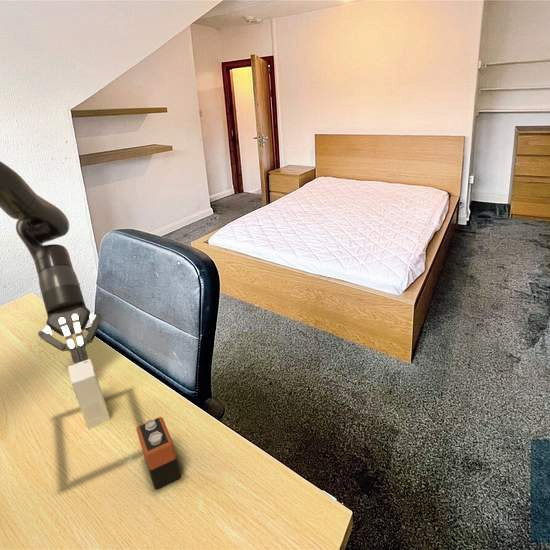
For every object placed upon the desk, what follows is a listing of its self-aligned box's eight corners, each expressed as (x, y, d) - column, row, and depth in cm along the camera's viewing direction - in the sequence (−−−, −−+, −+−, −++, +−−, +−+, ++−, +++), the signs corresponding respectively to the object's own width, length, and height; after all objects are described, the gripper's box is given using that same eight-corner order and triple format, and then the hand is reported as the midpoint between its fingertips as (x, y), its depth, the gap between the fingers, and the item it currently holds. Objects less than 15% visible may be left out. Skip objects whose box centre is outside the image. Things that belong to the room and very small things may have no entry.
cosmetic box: (84, 413, 82) (66, 365, 76) (106, 405, 84) (90, 357, 78) (88, 433, 77) (70, 383, 72) (112, 423, 79) (96, 374, 74)
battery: (156, 495, 65) (143, 450, 60) (146, 464, 70) (134, 421, 66) (183, 482, 66) (172, 438, 62) (171, 453, 72) (160, 410, 68)
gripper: (22, 293, 83) (43, 374, 78) (91, 276, 88) (114, 350, 84) (31, 305, 89) (50, 380, 85) (94, 288, 95) (116, 358, 90)
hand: (82, 365), depth 84 cm, fingers closed
